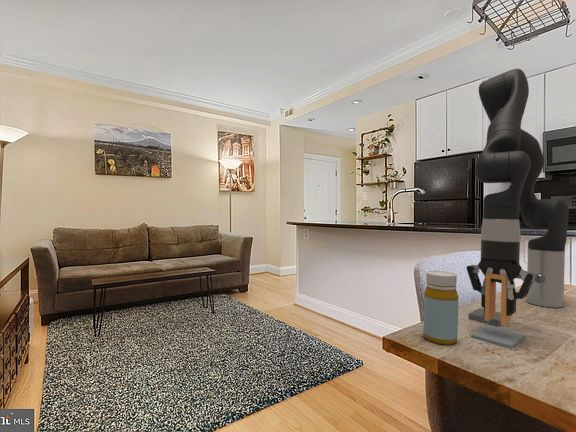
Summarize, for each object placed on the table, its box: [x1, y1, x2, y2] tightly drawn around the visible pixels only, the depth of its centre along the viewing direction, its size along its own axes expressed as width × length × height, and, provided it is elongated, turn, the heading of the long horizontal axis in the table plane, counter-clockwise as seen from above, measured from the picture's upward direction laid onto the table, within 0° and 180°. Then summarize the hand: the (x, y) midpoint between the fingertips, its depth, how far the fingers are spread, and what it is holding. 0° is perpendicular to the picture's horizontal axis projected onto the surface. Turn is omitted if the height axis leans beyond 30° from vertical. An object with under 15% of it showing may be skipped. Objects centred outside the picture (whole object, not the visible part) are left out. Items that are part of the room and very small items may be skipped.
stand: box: [467, 273, 546, 327], centre depth 84 cm, size 8×16×14 cm, turn 40°
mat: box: [470, 324, 526, 349], centre depth 75 cm, size 10×8×1 cm
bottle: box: [422, 270, 459, 346], centre depth 74 cm, size 7×7×15 cm
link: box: [485, 273, 512, 326], centre depth 75 cm, size 4×4×11 cm
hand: (498, 312), depth 75 cm, fingers closed on link, 4 cm apart
